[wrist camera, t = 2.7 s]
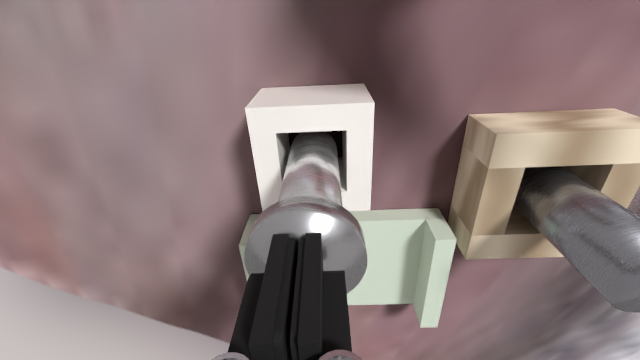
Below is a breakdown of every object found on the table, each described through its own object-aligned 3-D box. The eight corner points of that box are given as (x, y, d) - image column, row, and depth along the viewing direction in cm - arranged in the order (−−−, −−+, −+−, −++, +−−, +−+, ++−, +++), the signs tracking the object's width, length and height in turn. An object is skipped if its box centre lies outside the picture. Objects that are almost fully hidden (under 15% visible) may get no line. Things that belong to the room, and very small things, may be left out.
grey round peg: (555, 149, 23) (726, 250, 13) (538, 194, 25) (678, 311, 15) (501, 151, 23) (631, 252, 13) (489, 196, 25) (594, 312, 15)
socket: (613, 108, 21) (671, 127, 18) (564, 223, 26) (601, 255, 22) (468, 114, 21) (496, 134, 18) (446, 226, 26) (465, 259, 23)
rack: (438, 208, 25) (456, 239, 22) (424, 290, 30) (437, 326, 27) (250, 214, 26) (238, 245, 22) (265, 294, 31) (258, 330, 27)
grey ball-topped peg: (347, 116, 18) (369, 210, 10) (347, 179, 20) (365, 303, 12) (276, 119, 18) (233, 215, 10) (283, 181, 21) (254, 305, 12)
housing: (363, 83, 20) (374, 102, 16) (361, 174, 24) (370, 210, 19) (261, 88, 21) (244, 108, 16) (274, 177, 24) (262, 213, 20)
